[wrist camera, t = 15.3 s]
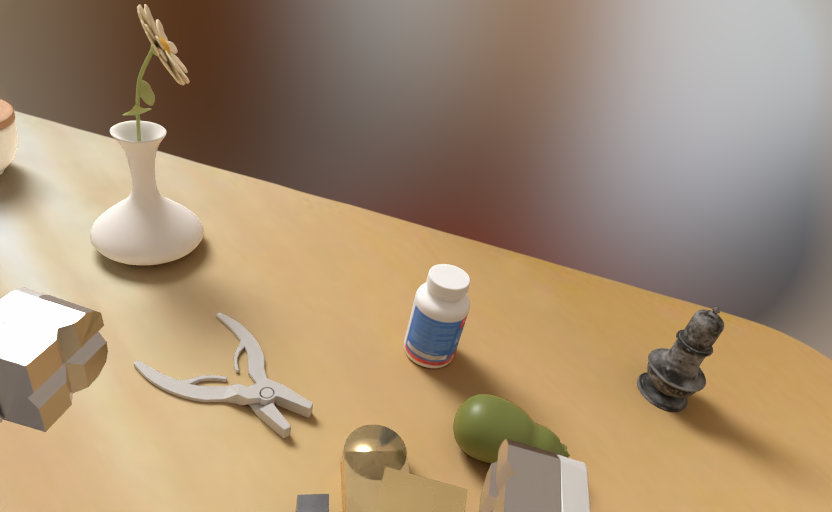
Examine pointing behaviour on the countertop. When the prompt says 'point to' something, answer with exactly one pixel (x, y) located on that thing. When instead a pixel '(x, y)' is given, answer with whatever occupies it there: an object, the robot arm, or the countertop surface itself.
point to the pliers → (238, 385)
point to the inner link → (369, 465)
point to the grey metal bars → (313, 503)
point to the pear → (499, 428)
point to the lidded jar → (7, 135)
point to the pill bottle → (438, 317)
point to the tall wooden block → (417, 494)
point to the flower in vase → (147, 180)
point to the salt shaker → (681, 363)
